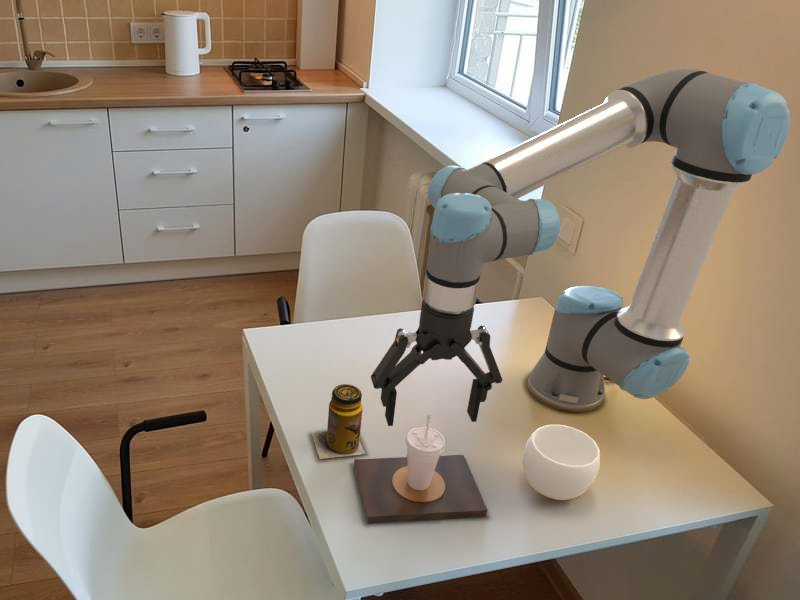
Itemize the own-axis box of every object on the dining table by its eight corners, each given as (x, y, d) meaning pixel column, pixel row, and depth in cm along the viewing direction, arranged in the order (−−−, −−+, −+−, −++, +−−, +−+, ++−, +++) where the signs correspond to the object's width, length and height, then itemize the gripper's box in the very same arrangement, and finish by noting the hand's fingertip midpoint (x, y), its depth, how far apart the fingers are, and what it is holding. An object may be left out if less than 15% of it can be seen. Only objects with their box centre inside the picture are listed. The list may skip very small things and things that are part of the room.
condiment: (365, 454, 131) (370, 401, 125) (319, 459, 130) (323, 406, 123) (354, 429, 137) (359, 377, 131) (311, 434, 136) (314, 381, 129)
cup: (603, 506, 123) (618, 463, 118) (538, 518, 120) (551, 474, 115) (565, 459, 133) (577, 417, 128) (504, 468, 130) (515, 426, 125)
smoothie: (436, 472, 126) (448, 407, 118) (438, 497, 121) (450, 432, 113) (399, 468, 126) (409, 403, 119) (399, 493, 121) (409, 428, 113)
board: (462, 460, 131) (463, 453, 130) (486, 516, 120) (487, 509, 119) (353, 465, 129) (354, 458, 128) (367, 523, 117) (368, 516, 116)
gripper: (522, 288, 109) (497, 401, 120) (358, 292, 106) (350, 407, 117) (540, 312, 103) (513, 429, 114) (367, 318, 100) (357, 437, 111)
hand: (430, 418), depth 116 cm, fingers open, 13 cm apart
